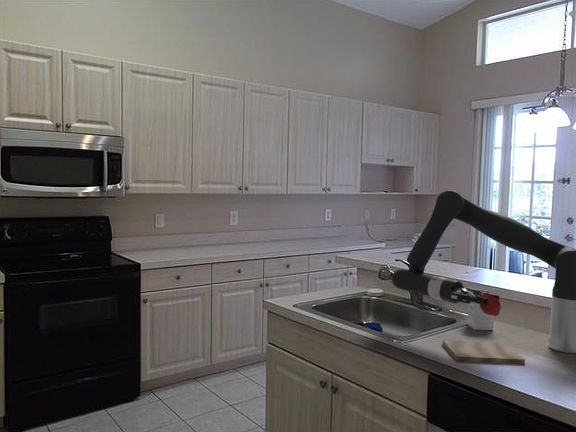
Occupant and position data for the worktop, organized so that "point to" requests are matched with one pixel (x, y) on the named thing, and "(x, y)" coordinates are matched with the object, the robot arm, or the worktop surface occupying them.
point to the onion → (491, 305)
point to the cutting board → (482, 352)
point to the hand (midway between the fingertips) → (493, 300)
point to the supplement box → (479, 318)
